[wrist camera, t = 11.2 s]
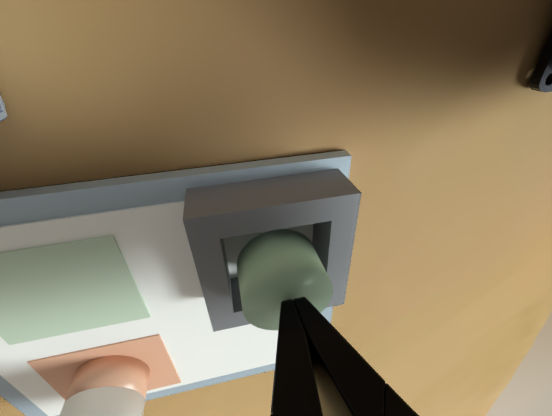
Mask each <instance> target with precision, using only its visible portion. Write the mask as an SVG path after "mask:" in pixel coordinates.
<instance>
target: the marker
mask: <svg viewBox="0 0 552 416" xmlns="http://www.w3.org/2000/svg"><path fill="white" fill-rule="evenodd" d="M149 374H150V369H149V367H148V365H147V364H146V363H144V362H143V361H141V360H139V359H137V358H134V357H129V356H121V355H113V356H104V357H99V358H95V359H92V360H90V361H87V362H86V363H84V364H82V365H81V366H80V367H79V368H78V369H77V370H76V372H75V375H74V378H73V380H72V383H71V386H70V388H69V391H68V394H67V396H66V399H65V402H64V405H63V407H62V410H61V413H60V415H59V416H143V412H144V405H145V399H146V393H147V386H148V380H149Z"/></svg>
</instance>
